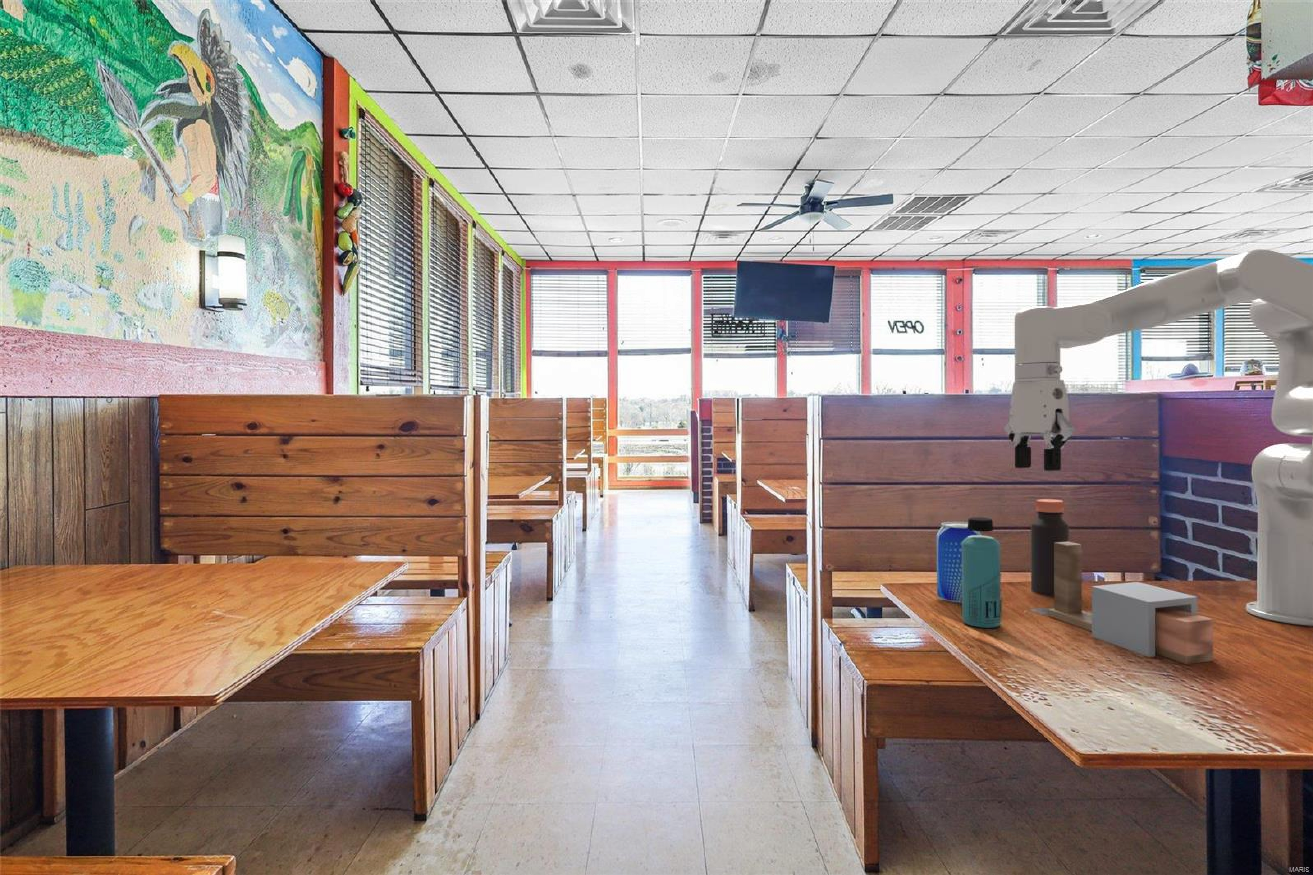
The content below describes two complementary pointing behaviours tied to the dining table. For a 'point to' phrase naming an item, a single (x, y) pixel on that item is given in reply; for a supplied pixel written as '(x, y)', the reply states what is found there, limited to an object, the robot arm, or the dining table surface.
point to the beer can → (951, 559)
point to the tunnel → (1133, 613)
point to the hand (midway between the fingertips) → (1037, 468)
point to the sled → (1173, 628)
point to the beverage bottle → (981, 576)
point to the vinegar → (1046, 543)
